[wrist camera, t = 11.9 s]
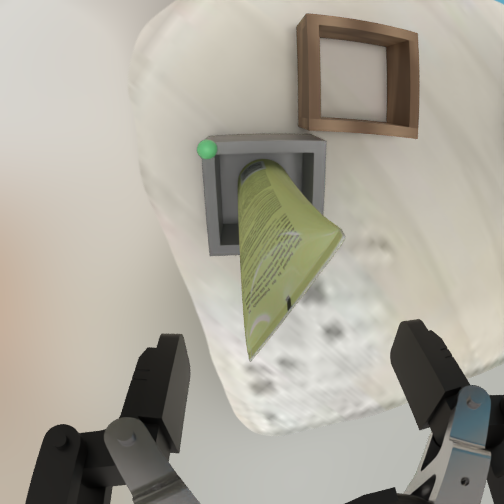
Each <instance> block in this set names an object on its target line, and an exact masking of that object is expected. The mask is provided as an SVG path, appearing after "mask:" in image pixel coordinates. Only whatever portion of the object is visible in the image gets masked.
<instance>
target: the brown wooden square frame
mask: <svg viewBox="0 0 504 504" xmlns="http://www.w3.org/2000/svg"><path fill="white" fill-rule="evenodd" d="M296 29H297V58H298V126H299V127H301V128H304V129H306V130H309V131H334V132H351V133H365V134H377V135H387V136H397V137H405V138H414V139H418V122H419V49H418V33H415V32H412V31H408V30H404V29H400V28H396V27H392V26H387V25H383V24H378V23H373V22H367V21H362V20H356V19H350V18H343V17H335V16H327V15H318V14H306V15H305V16H304V17H303V19H302V20H301V21H300V23H299V24H298V25H297V27H296ZM319 37H322V38H332V39H340V40H348V41H355V42H362V43H368V44H374V45H379V46H384V47H386V51H387V122H378V121H368V120H356V119H343V118H326V117H321V76H320V40H319Z"/></svg>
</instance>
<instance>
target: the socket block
mask: <svg viewBox="0 0 504 504" xmlns="http://www.w3.org/2000/svg"><path fill="white" fill-rule="evenodd" d="M197 153H198V155H199V156H200V157H201V158H202V169H203V183H204V196H205V209H206V220H207V232H208V242H209V253H210V256H225V255H240V246H239V224H238V178H239V175H240V173H241V171H242V170H243V168H244V167H245V166H246V165H247V164H249V163H250V162H252V161H255V160H258V159H269V160H272V161H275V162H277V163H278V164H279V165H281V166H282V167H283V169H284V170H285V171H286V173H287V174H288V176H289V177H290V178H291V180H292V181H293V183H294V184H295V185H296V187H297V188H298V189H299V190H300V192H301V193H302V194H303V195H304V196H305V197H306V198H307V200H308V201H309V202H310V203H311V204H312V205H313V206H314V207H315V208H316V209H317V210H318V211H319V212H320V213H321V214H322V215H323V210H324V192H325V169H326V141H325V140H323V139H321V138H319V137H316V136H314V135H312V134H237V135H217V136H208V137H207V138H206V139H205V140H203V141H201V142H200V143H199V144H198V147H197Z"/></svg>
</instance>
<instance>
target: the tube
mask: <svg viewBox="0 0 504 504" xmlns="http://www.w3.org/2000/svg"><path fill="white" fill-rule="evenodd" d="M238 224H239V246H240V266H241V284H242V301H243V315H244V327H245V337H246V345H247V352H248V355H249V361H250V362H251V361H252V360H253V359H254V357H255V356H256V355H257V354H258V352H259V351H260V350H261V349H262V347H263V346H264V345H265V344H266V342H267V341H268V340H269V339H270V338H271V336H272V335H273V334H274V333H275V331H276V330H277V329H278V328H279V326H280V325H281V324H282V323H283V321H284V320H285V318H286V317H287V316H288V314H289V313H290V312H291V311H292V309H293V308H294V307H295V305H296V304H297V303H298V302H299V300H300V299H301V298H302V297H303V295H304V294H305V293H306V292H307V290H308V289H309V288H310V286H311V285H312V284H313V282H314V281H315V280H316V278H317V277H318V276H319V274H320V273H321V272H322V271H323V269H324V268H325V267H326V265H327V264H328V263H329V261H330V260H331V259H332V257H333V256H334V254H335V253H336V251H337V250H338V249H339V247H340V246H341V244H342V243H343V241H344V240H345V235H344V233H343V231H342V229H340V228H339V227H338V226H336V225H335V224H333V223H332V222H331V221H329V220H328V219H327V218H325V217H324V216H323V215H322V214H321V213H320V212H319V211H318V210H317V209H316V208H315V207H314V206H313V205H312V204H311V203H310V202H309V201H308V200H307V198H306V197H305V196H304V195H303V194H302V193H301V192H300V190H299V189H298V188H297V187H296V185H295V184H294V183H293V181H292V180H291V178H290V177H289V176H288V174H287V173H286V171H285V170H284V169H283V167H282V166H281V165H279V164H278V163H277V162H275V161H272V160H269V159H258V160H255V161H252V162H250V163H249V164H247V165H246V166H245V167H244V168H243V170H242V171H241V173H240V175H239V178H238Z"/></svg>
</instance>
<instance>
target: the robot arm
mask: <svg viewBox="0 0 504 504" xmlns="http://www.w3.org/2000/svg"><path fill="white" fill-rule="evenodd" d="M390 359H391V364H392V367H393V369H394V371H395V373H396V376H397V378H398V380H399V382H400V385H401V387H402V389H403V392H404V394H405V396H406V399H407V401H408V403H409V406H410V408H411V410H412V413H413V415H414V417H415V420H416V423H417V425H418V428H419V430H422V429H425V428H429V427H430V428H431V431H432V432H431V434H430V436H429V438H428V441H427V444H426V447H425V450H424V453H423V455H422V458H421V461H420V463H419V466H418V469H417V471H416V474H415V476H414V478H413V479H412V481H411V482H410V483H409V485H408V486H407V488H406V490H405V492H404V494H399V493H396V489H395V487H393V488H390V489H386V490H382V491H378V492H375V493H370V494H366V495H363V496H361V497H359V498H356V499H354V500H352V501H350V502H348V503H345V504H480V503H481V499H482V495H483V492H484V488H485V484H486V480H487V482H488V485H489V488H490V492H491V495H492V498H493V502H494V504H504V395H488V393H487V392H486V391H485V390H484V389H483V388H481V387H479V386H476V385H470V384H469V382H468V380H467V379H466V377H465V375H464V374H463V372H462V370H461V369H460V367H459V365H458V364H457V362H456V361H455V359H454V357H452V354H451V353H450V351H449V349H448V350H447V346H446V345H445V343H444V342H443V340H442V339H441V338H440V337H439V336H438V335H437V334H435V333H434V332H433V331H432V330H430V331H428V329H427V328H426V326H425V325H424V323H423V322H422V321H421V320H420V319H416V320H409V321H402V322H401V323H400V325H399V328H398V331H397V334H396V337H395V340H394V343H393V346H392V348H391V353H390ZM189 382H190V363H189V358H188V355H187V350H186V346H185V342H184V337H183V335H182V334H161V335H160V338H159V341H158V345H157V348H150V347H149V348H147V349H146V350H145V351H144V352H143V353H142V355H141V356H140V357H139V359H138V362H137V365H136V368H135V371H134V374H133V377H132V381H131V383H130V386H129V390H128V393H127V396H126V399H125V402H124V406H123V409H122V412H121V415H120V417H119V419H116V420H115V421H113V422H112V423H111V424H109V425H108V427H107V428H106V429H105V430H101V431H94V432H85V433H78V432H77V431H76V429H75V428H73V427H72V426H69V425H66V424H60V425H57V426H54V427H52V428H51V429H50V430H49V431H48V432H47V433H46V435H45V437H44V439H43V442H42V445H41V449H40V452H39V455H38V458H37V461H36V465H35V469H34V472H33V475H32V479H31V483H30V487H29V491H28V495H27V499H26V504H110V500H111V494H112V487H113V486H118V485H127V487H128V488H129V490H130V492H131V494H132V496H133V502H134V504H200V503H199V501H198V500H197V499H196V498H195V496H194V495H193V494H192V492H191V491H190V490H189V489H188V487H187V486H186V485H185V484H184V482H183V481H182V480H181V478H180V477H179V476H178V475H177V473H176V472H175V471H174V469H173V468H172V466H171V465H170V463H169V456H170V453H179V452H180V444H181V437H182V429H183V421H184V415H185V408H186V402H187V395H188V388H189Z"/></svg>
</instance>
